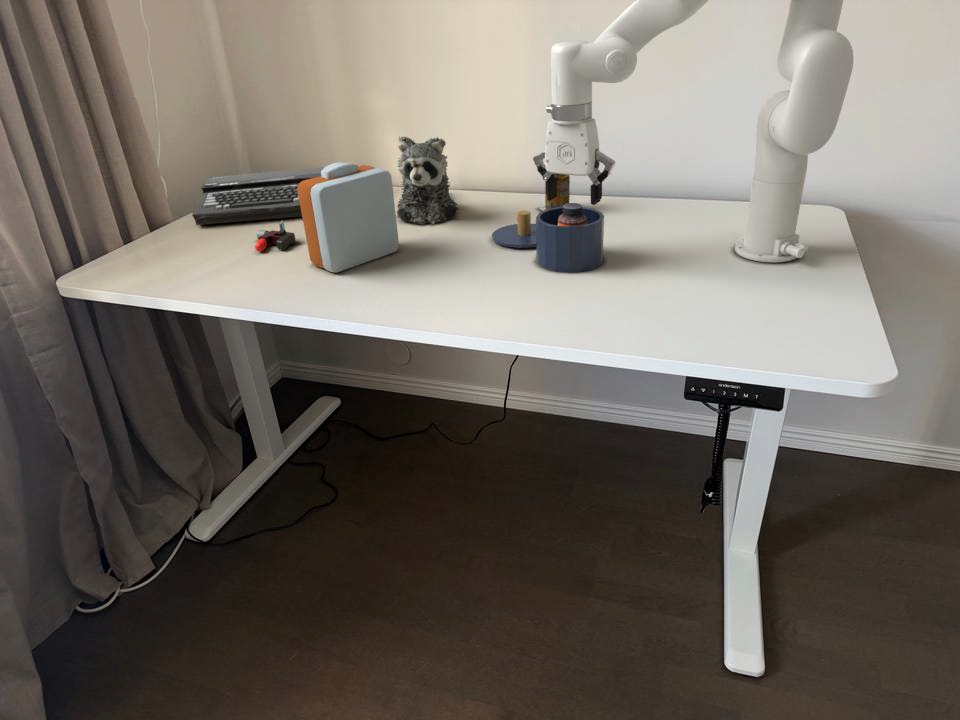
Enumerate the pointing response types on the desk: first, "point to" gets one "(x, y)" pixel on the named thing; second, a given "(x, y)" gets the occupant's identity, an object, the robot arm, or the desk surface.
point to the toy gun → (275, 238)
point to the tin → (569, 241)
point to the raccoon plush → (424, 182)
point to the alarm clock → (348, 215)
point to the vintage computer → (252, 196)
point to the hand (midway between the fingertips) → (573, 200)
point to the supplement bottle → (572, 215)
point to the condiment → (559, 193)
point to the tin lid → (517, 232)
